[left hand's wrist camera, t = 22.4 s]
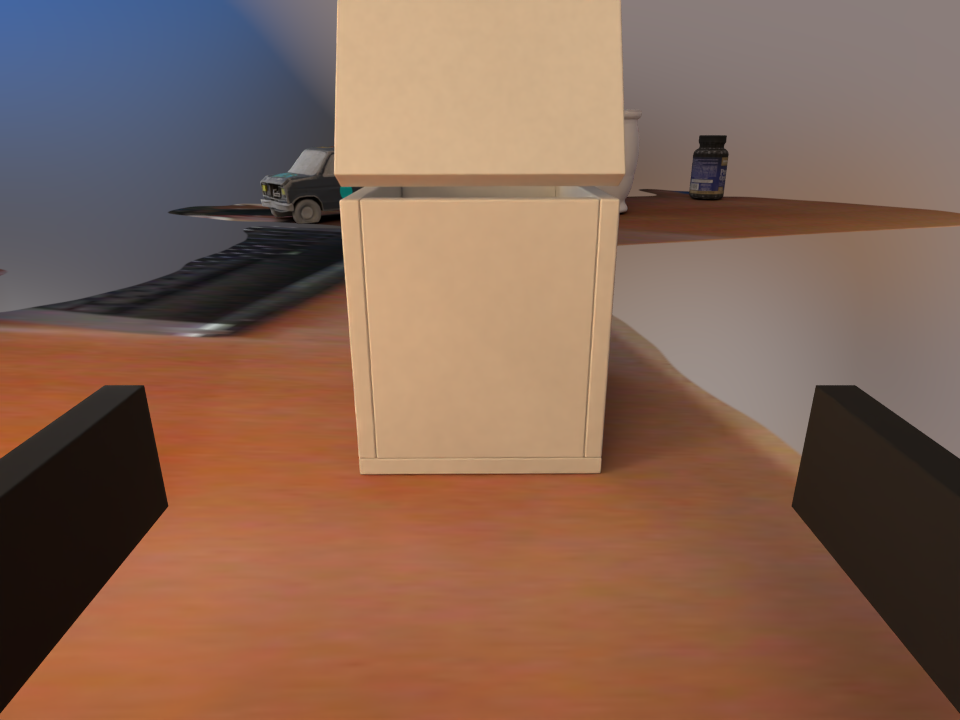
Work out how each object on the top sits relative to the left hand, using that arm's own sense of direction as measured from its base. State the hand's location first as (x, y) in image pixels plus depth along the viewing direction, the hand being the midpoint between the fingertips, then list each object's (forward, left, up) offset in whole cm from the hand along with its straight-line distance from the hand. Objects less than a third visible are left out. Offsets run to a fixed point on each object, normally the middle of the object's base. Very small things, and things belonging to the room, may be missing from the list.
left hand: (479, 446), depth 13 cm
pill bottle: (-23, +117, -7) cm, 119 cm away
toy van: (-63, +65, -7) cm, 91 cm away
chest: (-9, +15, -7) cm, 19 cm away
